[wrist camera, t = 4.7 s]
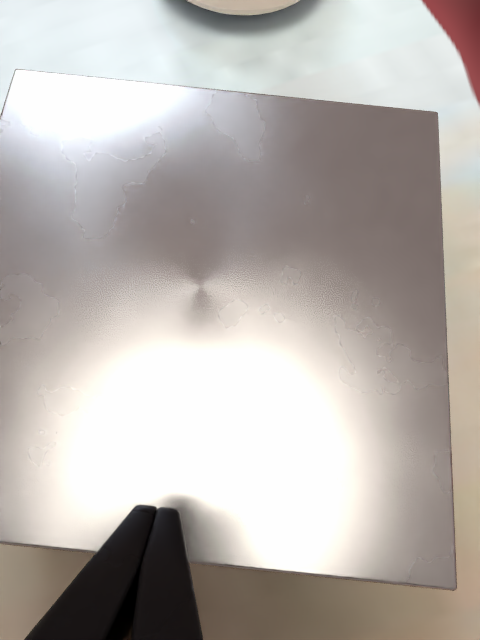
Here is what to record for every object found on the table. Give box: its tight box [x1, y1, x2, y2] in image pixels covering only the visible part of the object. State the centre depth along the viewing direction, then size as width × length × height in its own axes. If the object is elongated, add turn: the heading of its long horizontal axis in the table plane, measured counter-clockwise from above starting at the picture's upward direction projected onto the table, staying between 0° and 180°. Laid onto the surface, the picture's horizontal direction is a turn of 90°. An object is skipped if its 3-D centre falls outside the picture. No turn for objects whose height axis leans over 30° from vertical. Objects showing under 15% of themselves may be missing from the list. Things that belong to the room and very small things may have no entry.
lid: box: [0, 69, 457, 591], centre depth 13 cm, size 14×14×1 cm
